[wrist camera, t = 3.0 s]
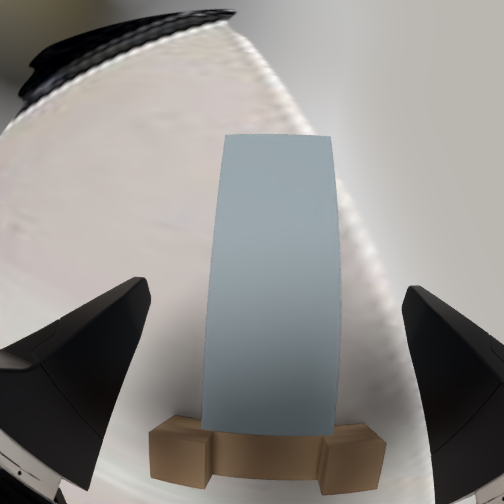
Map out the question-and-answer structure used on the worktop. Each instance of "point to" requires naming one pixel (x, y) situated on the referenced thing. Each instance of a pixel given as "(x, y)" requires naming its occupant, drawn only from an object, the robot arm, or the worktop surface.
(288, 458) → the tan stepped bar
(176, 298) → the worktop surface
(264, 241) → the grey slotted plate
